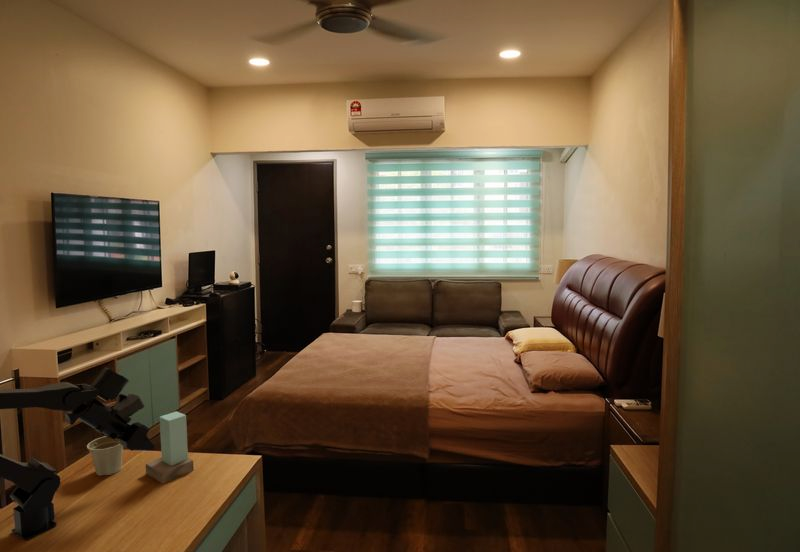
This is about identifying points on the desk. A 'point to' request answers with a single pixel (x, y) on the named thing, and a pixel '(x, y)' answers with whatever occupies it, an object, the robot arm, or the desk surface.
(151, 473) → the base slab
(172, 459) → the pillar
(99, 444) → the flower pot
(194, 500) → the desk surface
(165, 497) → the desk surface
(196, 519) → the desk surface
